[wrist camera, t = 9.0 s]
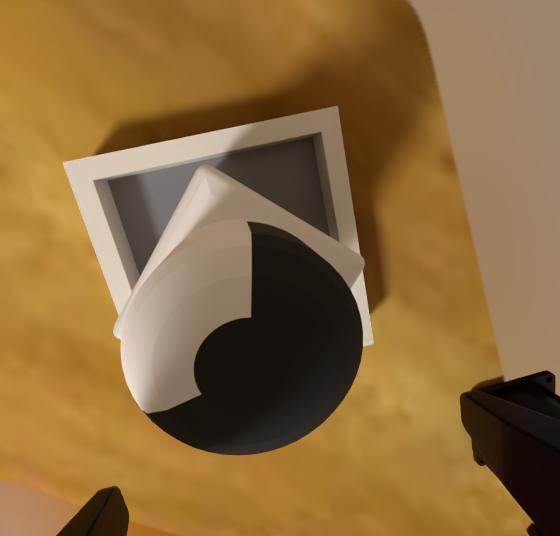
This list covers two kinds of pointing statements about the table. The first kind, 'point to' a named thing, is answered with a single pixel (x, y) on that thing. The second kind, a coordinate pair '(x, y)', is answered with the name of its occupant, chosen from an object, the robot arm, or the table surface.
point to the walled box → (231, 161)
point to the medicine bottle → (241, 322)
